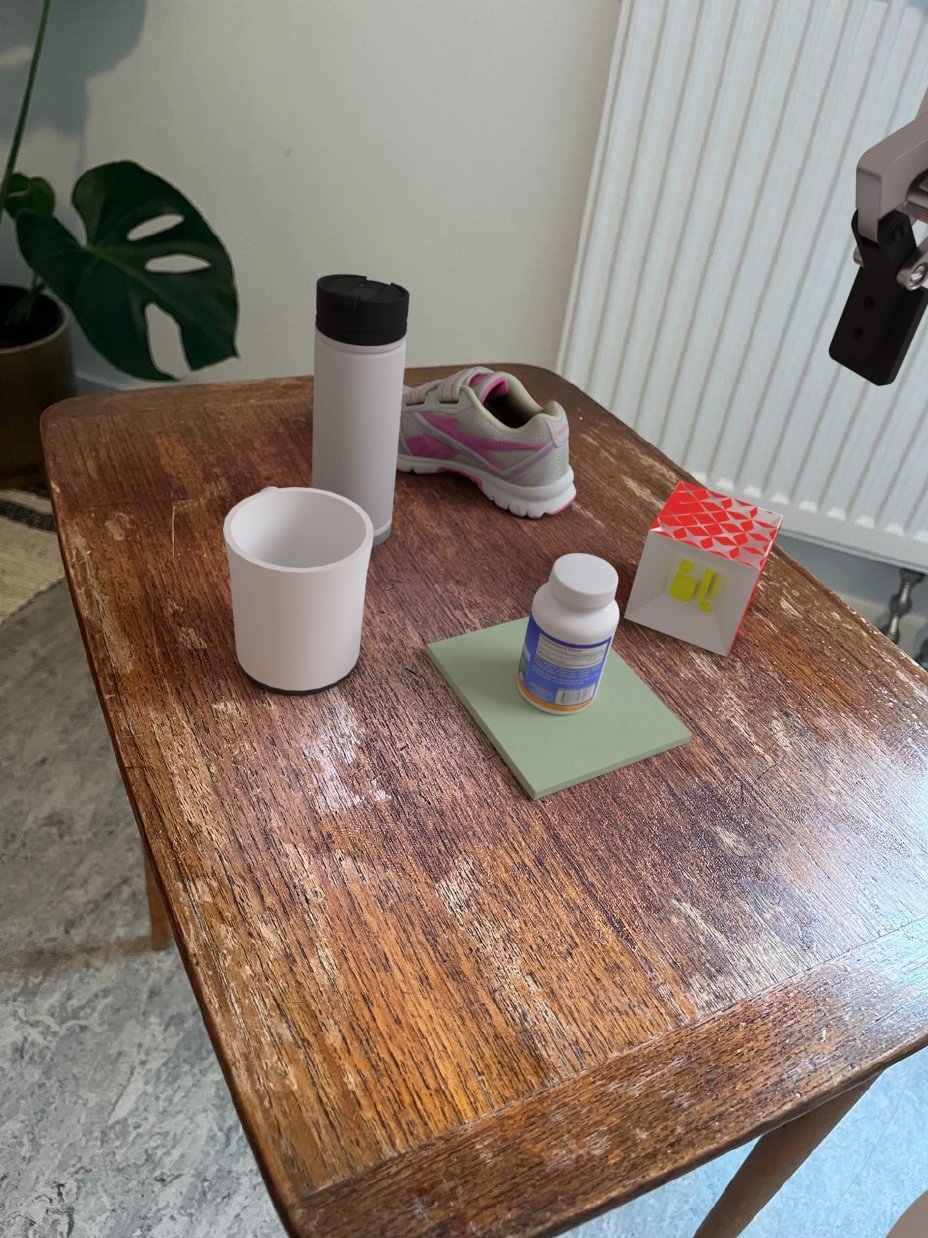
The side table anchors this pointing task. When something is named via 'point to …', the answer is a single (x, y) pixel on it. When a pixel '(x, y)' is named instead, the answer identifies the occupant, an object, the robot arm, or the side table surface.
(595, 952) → the side table surface
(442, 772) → the side table surface
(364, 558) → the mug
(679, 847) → the side table surface
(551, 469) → the running shoe
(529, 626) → the pill bottle
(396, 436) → the travel mug
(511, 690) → the mat
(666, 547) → the red patterned cube box
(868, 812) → the side table surface
